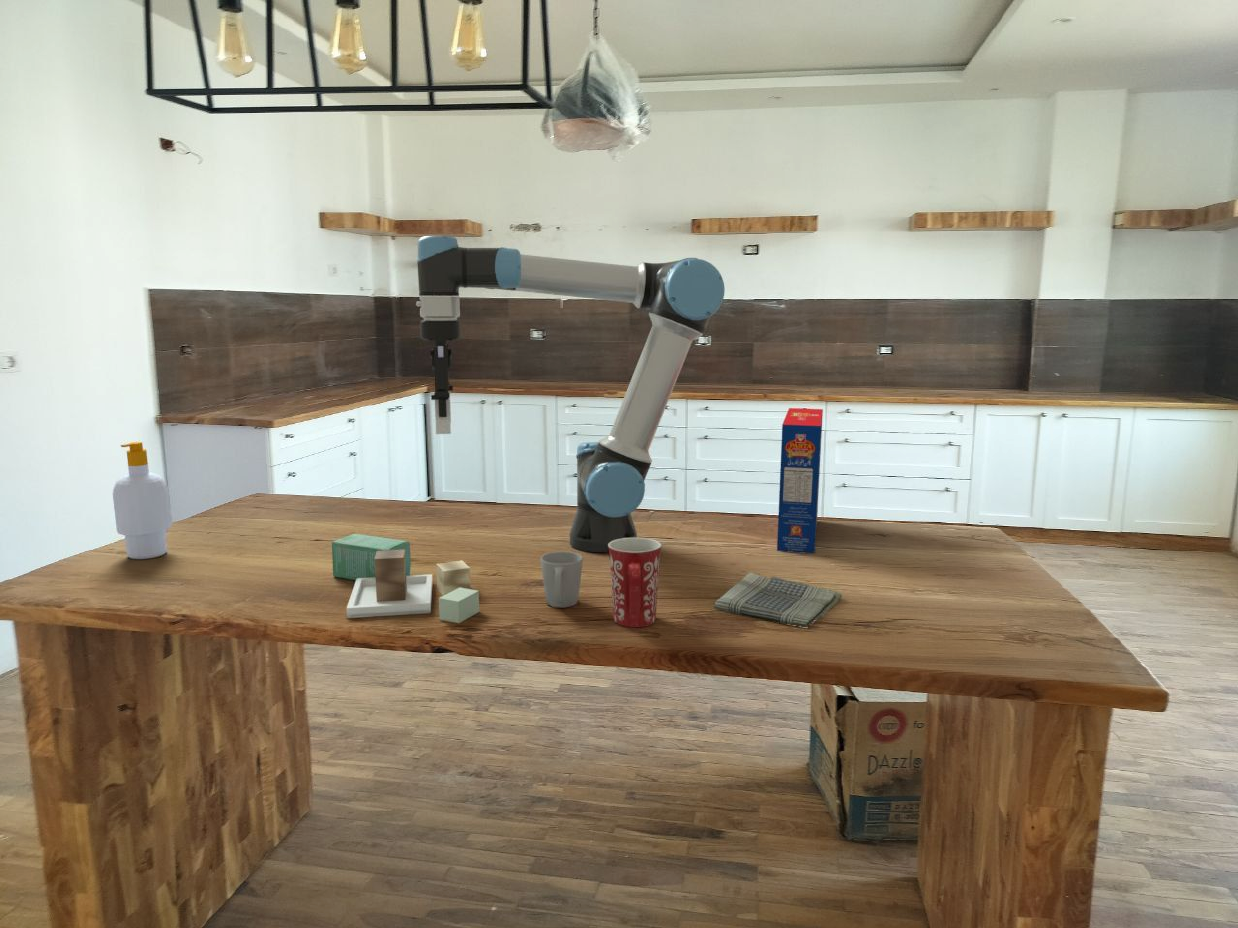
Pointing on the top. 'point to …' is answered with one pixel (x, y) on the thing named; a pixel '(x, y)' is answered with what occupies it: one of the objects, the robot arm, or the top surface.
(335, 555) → the box
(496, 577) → the top surface
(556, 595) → the cup
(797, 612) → the dish towel
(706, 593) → the top surface
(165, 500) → the soap bottle
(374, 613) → the tray
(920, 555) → the top surface
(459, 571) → the oak block
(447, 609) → the sage block
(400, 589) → the walnut block
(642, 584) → the mug
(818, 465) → the pasta box
